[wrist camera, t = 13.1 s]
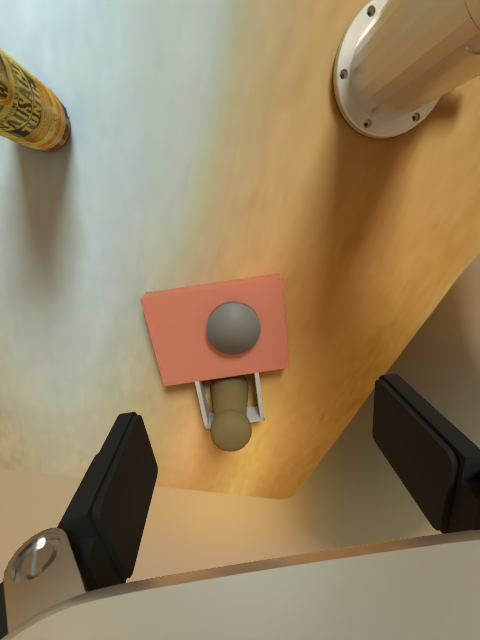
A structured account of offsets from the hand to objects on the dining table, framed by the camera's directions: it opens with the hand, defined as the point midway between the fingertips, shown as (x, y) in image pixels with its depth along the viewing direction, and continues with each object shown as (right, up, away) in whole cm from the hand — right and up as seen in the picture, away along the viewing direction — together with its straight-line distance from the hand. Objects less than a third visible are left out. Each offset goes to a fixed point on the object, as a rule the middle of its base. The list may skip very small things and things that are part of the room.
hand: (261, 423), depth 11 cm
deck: (-3, -1, +30) cm, 31 cm away
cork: (-2, -6, +33) cm, 33 cm away
